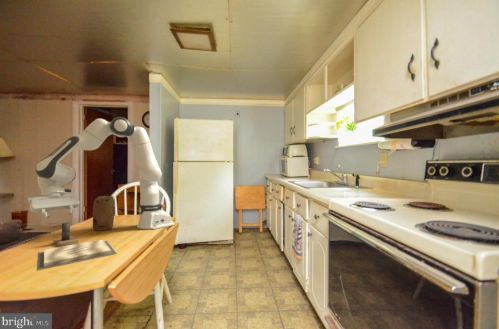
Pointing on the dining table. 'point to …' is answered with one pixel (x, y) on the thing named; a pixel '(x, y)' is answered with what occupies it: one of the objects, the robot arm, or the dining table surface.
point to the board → (75, 252)
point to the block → (103, 213)
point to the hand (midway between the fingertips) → (59, 215)
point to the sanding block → (65, 237)
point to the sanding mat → (41, 262)
